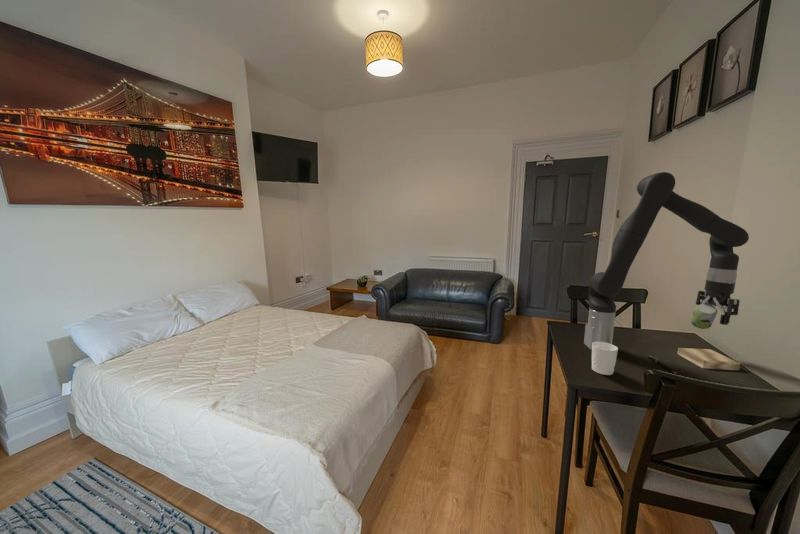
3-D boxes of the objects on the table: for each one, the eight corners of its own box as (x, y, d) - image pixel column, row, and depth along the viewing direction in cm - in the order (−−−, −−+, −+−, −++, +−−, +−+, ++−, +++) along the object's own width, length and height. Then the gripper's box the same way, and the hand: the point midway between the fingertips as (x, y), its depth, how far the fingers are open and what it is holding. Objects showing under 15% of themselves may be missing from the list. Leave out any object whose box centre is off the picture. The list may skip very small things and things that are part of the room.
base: (702, 368, 108) (704, 360, 107) (677, 354, 119) (678, 347, 119) (739, 370, 106) (740, 363, 106) (709, 355, 118) (710, 349, 117)
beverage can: (713, 329, 116) (728, 312, 107) (692, 331, 117) (705, 315, 109) (702, 316, 120) (715, 299, 112) (682, 319, 122) (693, 303, 113)
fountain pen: (679, 376, 103) (680, 372, 103) (675, 376, 103) (676, 372, 103) (648, 357, 117) (649, 354, 117) (645, 357, 117) (646, 354, 117)
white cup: (595, 363, 112) (597, 339, 110) (618, 372, 105) (621, 347, 104) (585, 369, 108) (588, 344, 106) (609, 378, 101) (612, 352, 100)
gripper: (693, 276, 115) (686, 314, 118) (727, 283, 101) (719, 326, 104) (714, 276, 114) (707, 315, 116) (752, 284, 100) (743, 327, 103)
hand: (713, 320), depth 110 cm, fingers open, 8 cm apart
